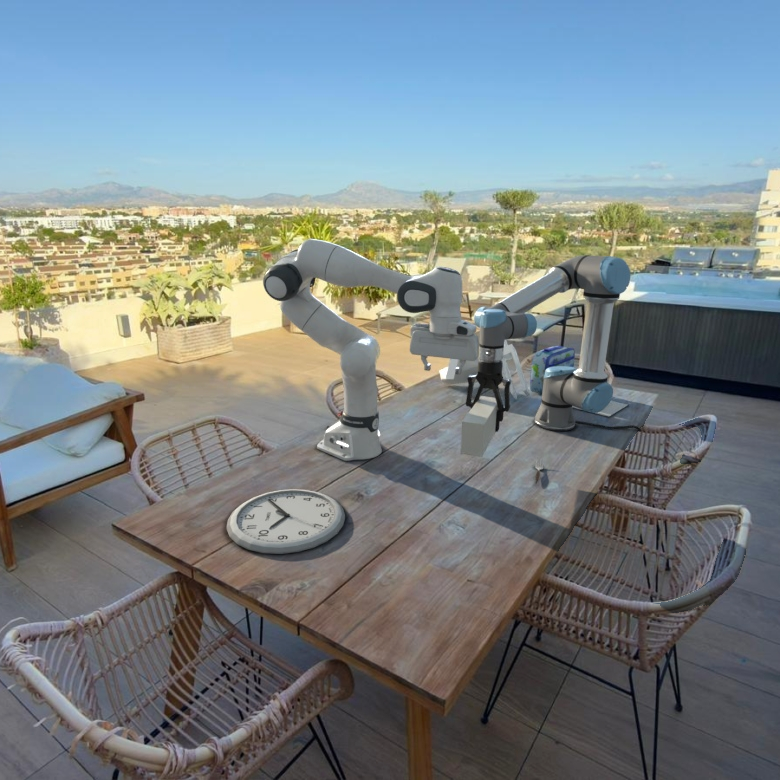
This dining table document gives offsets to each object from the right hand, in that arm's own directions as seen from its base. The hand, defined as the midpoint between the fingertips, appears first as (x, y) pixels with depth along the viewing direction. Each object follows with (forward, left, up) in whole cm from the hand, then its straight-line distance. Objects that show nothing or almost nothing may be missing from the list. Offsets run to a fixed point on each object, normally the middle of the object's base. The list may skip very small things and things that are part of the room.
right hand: (486, 428), depth 170 cm
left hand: (+15, +12, +21) cm, 29 cm away
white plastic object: (-2, -74, -11) cm, 75 cm away
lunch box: (-35, -82, -11) cm, 90 cm away
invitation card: (-53, -62, -11) cm, 83 cm away
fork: (-16, +9, -11) cm, 21 cm away
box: (+2, +8, -1) cm, 8 cm away
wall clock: (+53, +46, -11) cm, 71 cm away
